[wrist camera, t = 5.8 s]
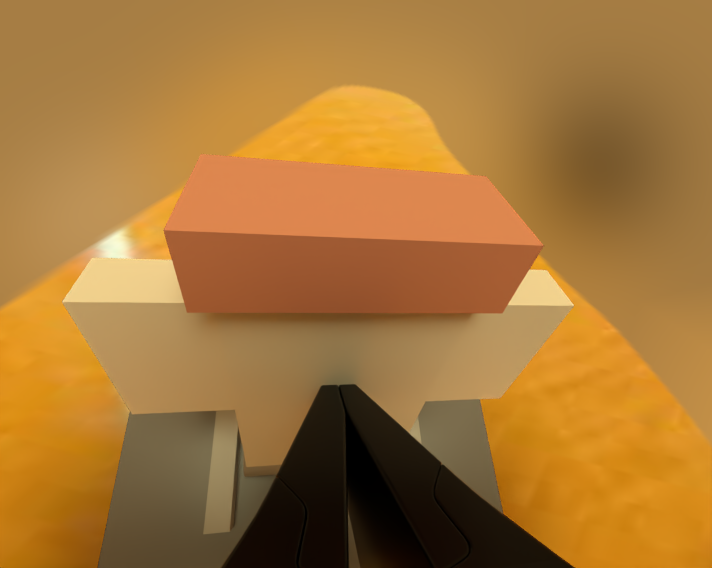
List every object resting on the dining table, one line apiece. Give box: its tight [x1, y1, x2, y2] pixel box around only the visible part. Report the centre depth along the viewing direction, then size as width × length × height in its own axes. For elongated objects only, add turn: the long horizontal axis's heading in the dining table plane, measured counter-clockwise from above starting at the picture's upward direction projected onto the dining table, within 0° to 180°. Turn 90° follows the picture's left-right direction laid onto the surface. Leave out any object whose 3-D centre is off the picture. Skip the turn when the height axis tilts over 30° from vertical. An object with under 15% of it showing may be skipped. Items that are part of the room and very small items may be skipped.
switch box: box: [98, 399, 503, 568], centre depth 15 cm, size 10×14×4 cm
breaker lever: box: [62, 154, 574, 477], centre depth 10 cm, size 2×10×11 cm, turn 94°
